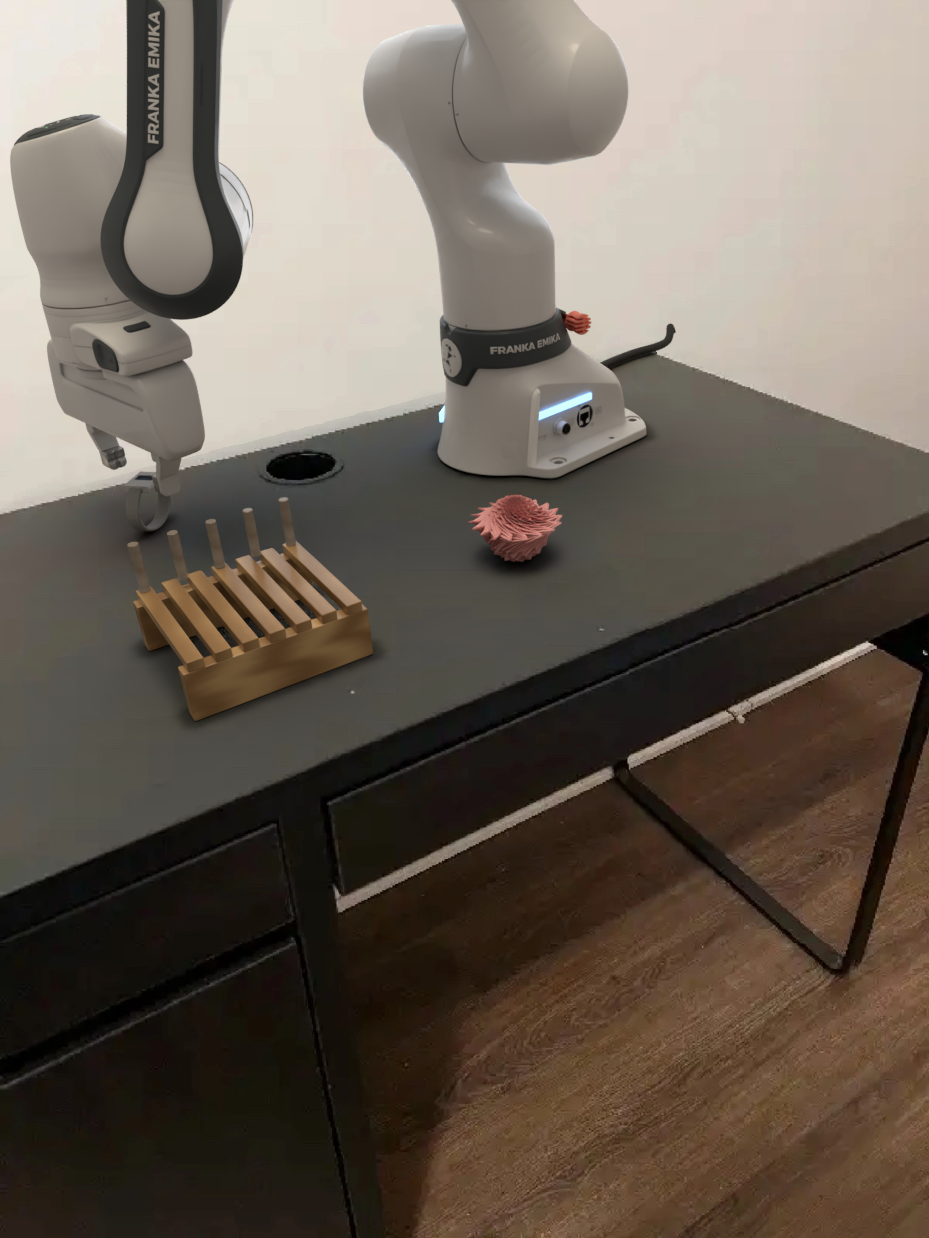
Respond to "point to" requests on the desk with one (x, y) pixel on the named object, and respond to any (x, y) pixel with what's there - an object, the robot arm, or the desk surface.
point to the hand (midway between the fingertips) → (141, 479)
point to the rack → (250, 595)
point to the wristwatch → (134, 489)
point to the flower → (516, 526)
